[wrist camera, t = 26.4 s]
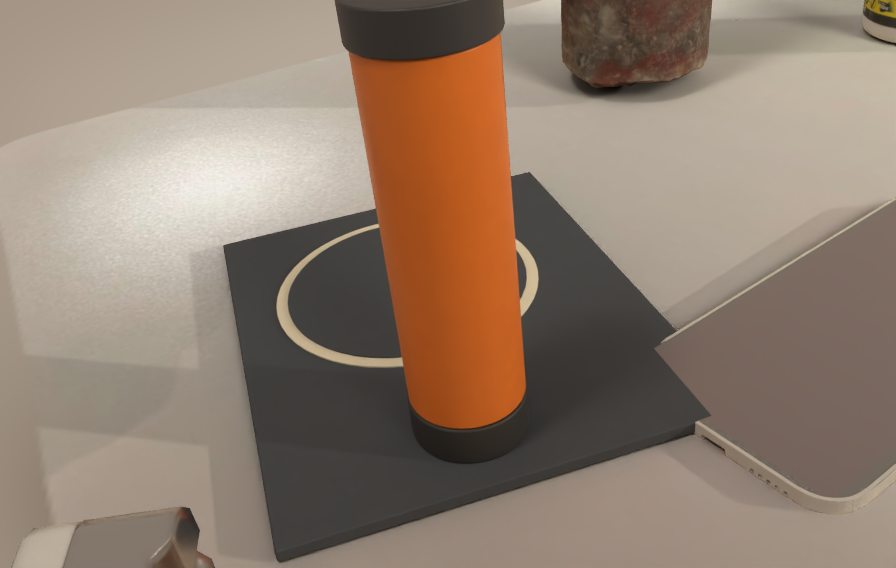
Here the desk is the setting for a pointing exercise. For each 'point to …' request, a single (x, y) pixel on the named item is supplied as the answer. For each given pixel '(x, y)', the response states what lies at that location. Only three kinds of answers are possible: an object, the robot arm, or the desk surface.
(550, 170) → the desk surface
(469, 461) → the marker
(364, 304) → the pad
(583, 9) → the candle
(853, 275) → the smartphone
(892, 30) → the pill bottle
